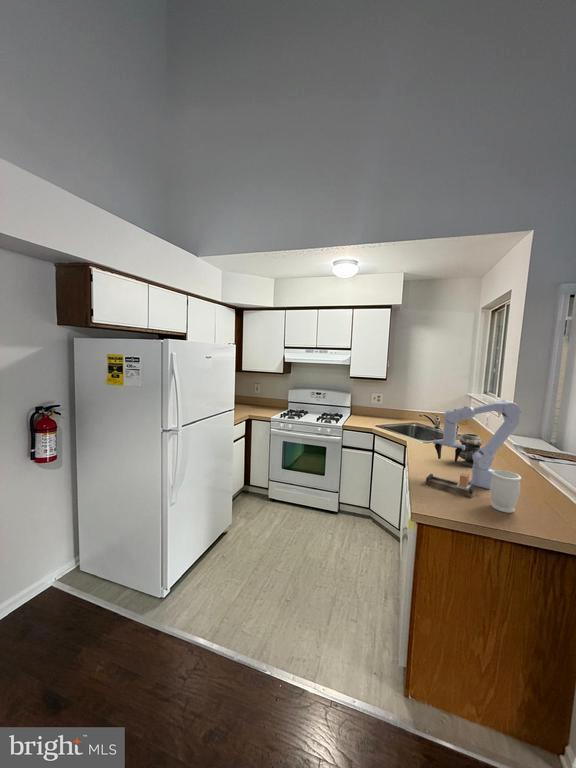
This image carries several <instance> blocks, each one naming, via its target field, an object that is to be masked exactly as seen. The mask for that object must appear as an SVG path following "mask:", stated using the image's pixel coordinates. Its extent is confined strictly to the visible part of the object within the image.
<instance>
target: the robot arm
mask: <svg viewBox="0 0 576 768" xmlns="http://www.w3.org/2000/svg"><path fill="white" fill-rule="evenodd" d="M489 412H490V413H491V412H497V413H501V415H502V418H503V420H504V421H503V423H501V424H500V426H499V428H498V429H497V430H496V432H495V433H494V434H492V436H491V437H490V439H489V440H488V441H487V442H486V444H485V445H484V446H482V447H480V450H479V451H477V452H475V453H474V454H473V456H472V458H473V460H474V461H473V462H474V464H473V467H472V469H471V470H472V471H471V479H470V481H469V482H468V485H471V486H472V484H473V485H475V487H479V488H483V489H487V490H490V483H491V479H492V476H493V475H492V471H493V470H494V469H492V468H491V467H492V465H493V462H494V459H495V454H496V453H497V451H498V450H499V449H500V448H501V446H502V445H503V444H504V443H505V442H506V441H507V439H508V438H509V437H510V436H511V435H512V433H513V432H514V431H515V429H516V428H517V427H518V426H519V424H520V417H521V416H520V415H521V413H522V410H521V409H520V406H519V404H518V403H516V402H513V401H509V400H507V399H503V400H498V401H497V400H496V401H492V402H491V403H490V402H489V403H487V404H486V403H485V404H482V405H479V406H476V407H475V406H474V407H472V406H470V405H469V406H468V405H464V406H463V407H461V408H458V409H456V408H453V410H452V409H451V410H450V409H449V410H446V411H445V412H444V414H443V419H444V425H443V435H442V440H441V439H440V440H439V439H433V441H432V442H433V443H432V444H433V445H434V449H435V450H436V453H437V459H439V460H440V459H441V458H442V448H443V447H449V448H454V449H455V453H454V454H455V455H454V463H457V462H458V460H459V458H460V457H459V455H460V453H461V451H462V450H465V445H462V443H457V441H456V439H457V428H458V427H457V426H458V424H457V423H459V421H464V420H468V419H473V418H474V417H475V416H476V415H480V414H483V413H489Z"/></svg>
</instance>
